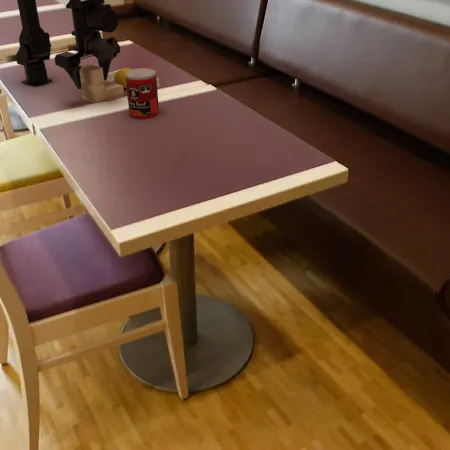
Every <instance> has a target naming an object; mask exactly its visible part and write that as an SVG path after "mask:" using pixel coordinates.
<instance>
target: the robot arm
mask: <svg viewBox="0 0 450 450" xmlns="http://www.w3.org/2000/svg"><path fill="white" fill-rule="evenodd" d="M16 2H17V6H18V12H19V17H20V18H19V19H20V22H21V31H20V34H19V37H18V41H19V42H18V43H19V48H18V50H17V52H16V54H15V56H14V59H15V61H16V64H17V65H19V66H20V65H21V66H23V69H24V74H25V79H24V80H22V83H23V84H26V85H29V86H32V87H38V86H41V85H43V84H48V83H50V82H53V79H52V78H49V77H48V73H47V68H46V64H45V63H46V61H50V60H51V51H52V43H51V38H50V34H49V32H45V30H44V29H43V27H42V26H41V24H40V22H41V21H40V18H39V11H38V7H37V6H38V5H37V2H36V0H16ZM65 8H66V9H69V10H70V11H71V18H72V24H73V25H72V26H73V30H72V31H71V32H70V33H71V36H72V37H74V36H75V37H74V38H75V44H76V46H73V51H74V52H75V53H74V52H69V51H64V52H60V53H57V54H55V56H54V64H55V66H58V67H60V68H62V69H64V71H65V72H66V73H67V74H68V76H69V77H70V80H71V81H72V82H73V83H74V85H75V87H76V89H77V90H81V79H80V69H81V67H82V66H83V65H80V64H81V63H82V61H81V60H84V59H88V58H91V57H95V58H96V59H97V64H98V67H102V68H103V76H104V80H105V81H106V80H107V76H108V73H110V72H109V71H110V67H111V64H112V62H113V60H114V59H115V58H117V57H118V54H120V53H121V45H120V44H119V43H118V39H117V38H116V37H115V36H111V37H108V38H102V34H101V32H103V33H108V34H109V33H113V32H115V31H116V30H117V29H118V26H119V17H118V15H117V13H116V11H115V10H114V9H112V6H111V4H110V3H106V1H105V0H68V3H66V4H65Z"/></svg>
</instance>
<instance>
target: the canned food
mask: <svg viewBox="0 0 450 450" xmlns="http://www.w3.org/2000/svg"><path fill="white" fill-rule="evenodd" d="M125 75H126V76H125V77H126V88H125V89H126V95H127V105H128V113H129V115H130V116H131V117H132V118H135V119H144V120H145V119H151V118H154V117H156V116H157V115H158V114H159V111H160V107H159V106H160V105H159V104H160V103H159V92H158V88H157V78H158V77H157V70H155V69H152V68H148V67H147V68H146V67H141V68H133V69H132V70H130V71H128V72H126V74H125Z"/></svg>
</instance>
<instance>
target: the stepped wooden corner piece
mask: <svg viewBox="0 0 450 450" xmlns="http://www.w3.org/2000/svg"><path fill="white" fill-rule="evenodd" d="M81 66H82V67H81V69H80V79H81V89H80V91H81V99H82V100H85V99H86V101H89V100H90V101H89V102H92V101H93V103H95V102H96V103H97V102H98V103H101V102H103V101H106V100H107V101H114V100H117V99H120V98H122V97H124V96H125V90H124V89H125V88H123V85H119V84H116V83H114V82H107V81H104V76H103V68H102V67H99V65H93V64H89V63H87V64H84V65H81ZM100 101H101V102H100ZM98 103H97V104H98Z"/></svg>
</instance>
